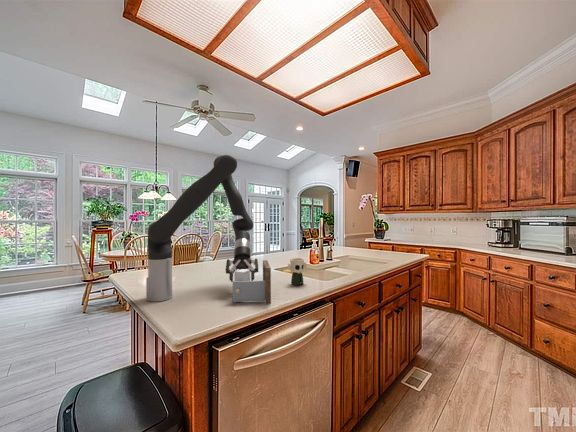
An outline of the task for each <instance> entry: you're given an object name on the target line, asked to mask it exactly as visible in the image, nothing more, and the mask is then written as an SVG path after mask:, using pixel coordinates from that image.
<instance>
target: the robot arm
mask: <svg viewBox="0 0 576 432" xmlns="http://www.w3.org/2000/svg"><path fill="white" fill-rule="evenodd" d="M237 168H238V161H237V159H236V157H235V156H233V155H231V154H223V155H219V156H217V157H216V158H215V159H214V160H213V167H212V168H211V170H210V171H208V172H207V173H206V174H204V175H203V176H202V177H200V178H199V179H197V180H196V181H195V182H193V183H192V184H190V186H188V188H186V189H185V191H184V192H182V193H181V194H180V196H179V197H178V198H177V199H176V201H175V203H174V204H173V205H172V207H171V208H170V209H169V210H168V211H167V212H166V213H165V214H164V215H162V216H161V217H160V218H159V219H157V220H156V221H154V222H151V224H150V225H149V226H148V228H147V271H148V272H147V277H146V279H145V280H146V284H145V288H146V289H145V290H146V291H145V292H146V296H145V297H146V302H154V303H155V302H162V301H163V302H164V301H167V300H168V301H169V300H170V299H172V298H173V251H172V237H173V235H174V233H176V231H177V230H178V229H179V228H180V226H181V225H182V224H183V222H185V221H186V220H187V219H188V218H189V217H190V216H192V215H193V214H194V213H195V212H196V211H197V210H198V209H199V208H200V207H201V206H202V205H203V204H204V203H205V202H206V201H207V200H208V199H209V198H210V197H211V195H212V194H213V193H214V192H215V190H216V189H217V188H218V187H219V185H222V188H223V191H224V192H225V195H226V199H227V201H228V204H229V208H230V213H231V214H232V215H233V216H235V217H236V216H237V217H238V216H240V217H242V218H238V219H235V220H233V222H232V224H231V225H232V226H231V227H232V229H233V232H234V235H235V238H234V240H235V244H234V252H233V260H230V259H229V258H227V259H226V264H225V273H226V274H227V275H229V278H228V279H229V281H230V282H231V283H233V281H234V274H235V271H238V270H241V269H247V270H250V281H255V273H259V262H258V261H259V260H258V258H255V259H252V258H251V256H252V255H251V251H252V250H251V235H250V233H249V231H252V230H253V228H254V221H253V219H252V218H251V216H250V215H249V213H248V211H247V209H246V208H245V207H246V206H245V204H244V200H243V197H242V195H241V193H240V192H239V189H238V188H237V186H236V184H235V181H234V179H233V173H235V172H236V170H237ZM252 264H253V265H254V267H253V266H252ZM231 266H232V267H231ZM230 267H231V268H230Z"/></svg>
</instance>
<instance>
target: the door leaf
mask: <svg viewBox="0 0 576 432" xmlns="http://www.w3.org/2000/svg"><path fill="white" fill-rule="evenodd" d="M242 302H243V303H247V302H266V291H265V281H263V280H253V281H251V280H250V281H235V280H233V282H232V303H242Z"/></svg>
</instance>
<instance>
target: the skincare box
mask: <svg viewBox="0 0 576 432" xmlns="http://www.w3.org/2000/svg"><path fill="white" fill-rule="evenodd" d="M234 281H251V272H250V270H248V269H241V270H239V269H237V271H235V272H234Z"/></svg>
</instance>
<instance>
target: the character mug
mask: <svg viewBox="0 0 576 432" xmlns="http://www.w3.org/2000/svg"><path fill="white" fill-rule="evenodd" d="M289 260H290V262H289V263H287V270H288V271H290V272H291V273H292V274H291V284H292V285H295V286H299V285H304V276H303V272H304V271H305V269H306V268H307V261H305V259H304V258H301V257H293V258H290V259H289Z"/></svg>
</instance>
